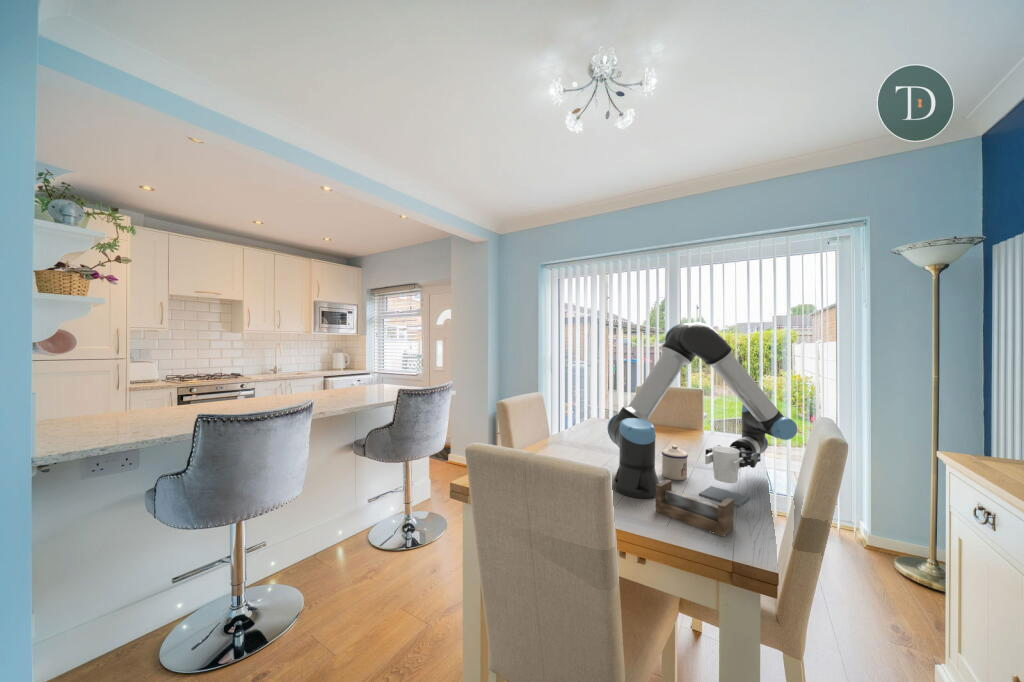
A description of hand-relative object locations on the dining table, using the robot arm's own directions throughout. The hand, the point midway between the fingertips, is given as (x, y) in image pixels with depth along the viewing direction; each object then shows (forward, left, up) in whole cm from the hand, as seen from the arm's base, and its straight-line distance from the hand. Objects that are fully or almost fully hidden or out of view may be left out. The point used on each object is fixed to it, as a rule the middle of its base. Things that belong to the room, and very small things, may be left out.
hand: (720, 463), depth 121 cm
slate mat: (0, +5, -12) cm, 13 cm away
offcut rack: (0, -19, -12) cm, 23 cm away
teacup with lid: (-20, +12, -12) cm, 26 cm away
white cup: (0, +5, -7) cm, 8 cm away
